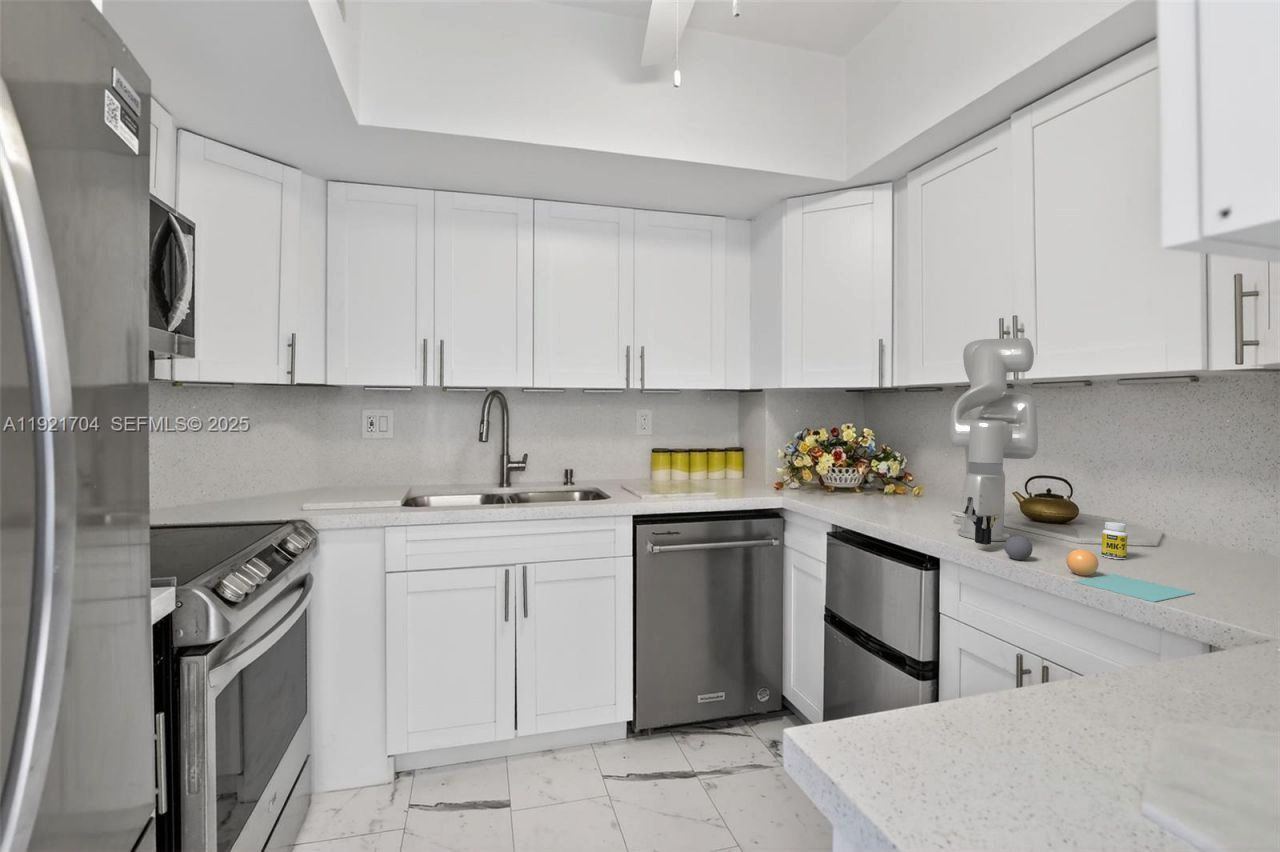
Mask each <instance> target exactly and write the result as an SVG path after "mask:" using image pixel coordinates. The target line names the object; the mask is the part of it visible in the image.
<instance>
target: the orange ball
mask: <svg viewBox="0 0 1280 852" xmlns="http://www.w3.org/2000/svg"><path fill="white" fill-rule="evenodd" d="M1065 559H1066V560H1065V561H1066V566H1067V568H1068V569H1069V570H1070V571H1071V572H1072V573H1074V574H1076V575H1078V576H1083V577H1085V576H1086V577H1087V576H1091V575H1093V574H1094V573H1096V572H1097V570H1098V569H1099V564H1100V563H1099V559H1098V557H1097V556H1096V555H1095V554H1094V553H1093V551H1090V550H1089V549H1088V550H1087V549H1083V548H1077V549H1074V550H1071V551H1070V552H1069V553H1068V554H1067V556H1066V558H1065Z"/></svg>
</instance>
